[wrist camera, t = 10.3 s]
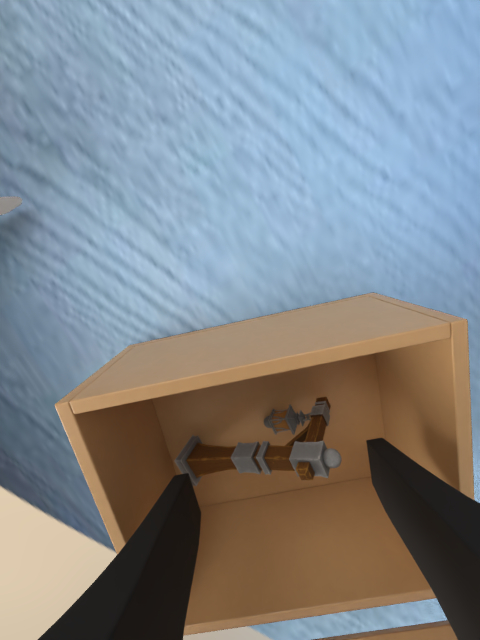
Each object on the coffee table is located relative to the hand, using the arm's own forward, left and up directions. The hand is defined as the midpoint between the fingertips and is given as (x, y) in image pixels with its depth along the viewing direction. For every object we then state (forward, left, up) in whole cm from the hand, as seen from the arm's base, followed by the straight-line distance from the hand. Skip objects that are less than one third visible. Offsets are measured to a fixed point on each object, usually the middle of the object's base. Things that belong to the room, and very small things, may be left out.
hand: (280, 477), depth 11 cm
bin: (0, 0, -5) cm, 5 cm away
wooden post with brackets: (+1, 0, -4) cm, 5 cm away
